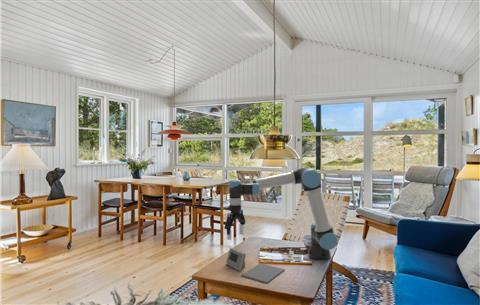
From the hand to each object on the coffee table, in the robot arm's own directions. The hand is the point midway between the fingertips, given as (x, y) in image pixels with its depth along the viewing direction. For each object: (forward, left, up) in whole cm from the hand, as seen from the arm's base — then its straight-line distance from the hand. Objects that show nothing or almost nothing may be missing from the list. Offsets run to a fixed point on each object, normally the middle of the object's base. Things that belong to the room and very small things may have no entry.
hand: (235, 236), depth 210 cm
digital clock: (0, 0, -20) cm, 20 cm away
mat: (-1, +20, -20) cm, 28 cm away
